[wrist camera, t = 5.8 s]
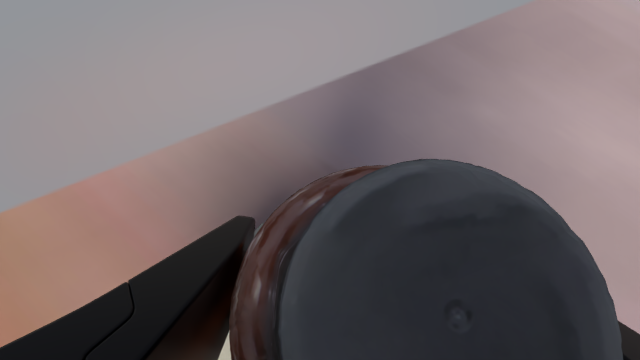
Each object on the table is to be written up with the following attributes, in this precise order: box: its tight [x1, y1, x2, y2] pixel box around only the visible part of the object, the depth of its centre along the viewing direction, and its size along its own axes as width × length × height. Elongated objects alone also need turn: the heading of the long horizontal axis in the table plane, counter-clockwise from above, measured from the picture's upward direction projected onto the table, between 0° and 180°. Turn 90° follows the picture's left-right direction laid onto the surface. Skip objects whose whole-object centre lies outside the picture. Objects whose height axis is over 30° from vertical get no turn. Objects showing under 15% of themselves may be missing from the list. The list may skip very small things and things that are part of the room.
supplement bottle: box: [229, 159, 623, 360], centre depth 9 cm, size 6×6×11 cm
